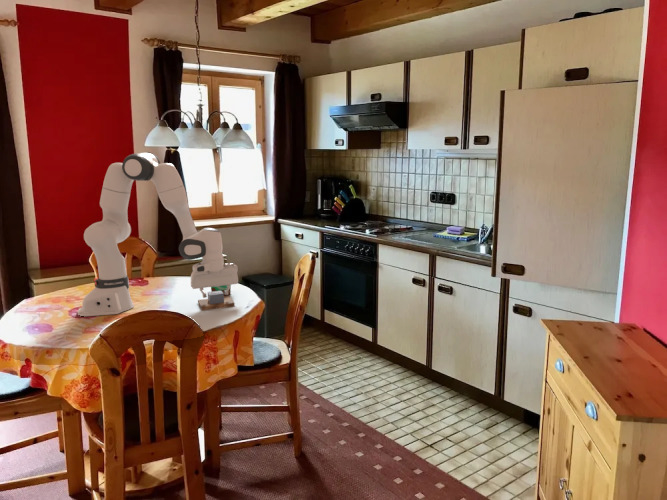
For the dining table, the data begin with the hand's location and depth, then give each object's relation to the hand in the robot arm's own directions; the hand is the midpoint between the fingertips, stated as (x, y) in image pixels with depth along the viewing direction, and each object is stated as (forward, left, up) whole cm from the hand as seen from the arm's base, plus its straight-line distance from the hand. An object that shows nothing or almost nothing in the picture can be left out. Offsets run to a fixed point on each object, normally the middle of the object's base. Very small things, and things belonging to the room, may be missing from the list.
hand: (215, 296), depth 235 cm
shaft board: (0, 0, -4) cm, 4 cm away
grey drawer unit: (0, 0, -3) cm, 3 cm away
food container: (+6, +14, -4) cm, 16 cm away
